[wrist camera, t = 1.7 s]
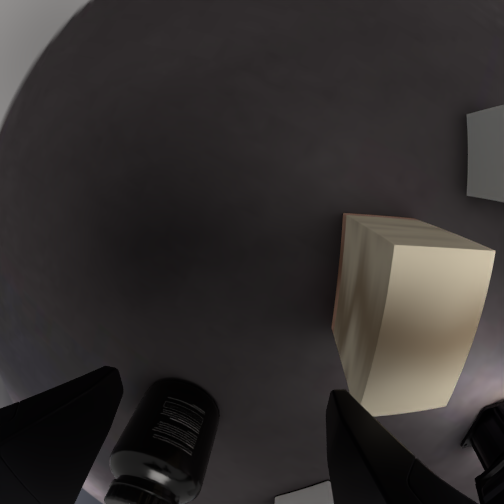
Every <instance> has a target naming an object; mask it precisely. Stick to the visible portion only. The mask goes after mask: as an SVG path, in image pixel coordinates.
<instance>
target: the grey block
mask: <svg viewBox="0 0 504 504" xmlns="http://www.w3.org/2000/svg"><path fill="white" fill-rule="evenodd" d="M467 132H468V180H467V196H472V197H478V198H483V199H489V200H494V201H500V202H504V105H501V106H497V107H493V108H489V109H485V110H481V111H477V112H474V113H470V114H467Z"/></svg>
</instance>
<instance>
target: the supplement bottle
mask: <svg viewBox="0 0 504 504" xmlns="http://www.w3.org/2000/svg"><path fill="white" fill-rule="evenodd" d="M218 422H219V412H218V409H217V406H216V405H215V403H214V402H213V400H212V399H211V398H210V397H209V396H208V395H207V394H206V393H205V392H203V391H202V390H200V389H199V388H197V387H195V386H193V385H190V384H187V383H184V382H180V381H162V382H159V383H156V384H154V385H152V386H151V387H150V388H149V389H148V390H147V392H146V393H145V395H144V397H143V398H142V400H141V402H140V403H139V405H138V407H137V409H136V410H135V412H134V414H133V416H132V417H131V419H130V421H129V422H128V424H127V426H126V428H125V429H124V431H123V433H122V435H121V436H120V438H119V440H118V442H117V443H116V445H115V447H114V449H113V451H112V453H111V455H110V458H109V463H110V468H111V471H112V473H113V475H114V476H115V478H116V479H114V480H113V481H112V482H111V484H110V488H109V490H108V492H107V494H106V496H105V498H104V501H105V502H104V503H105V504H186V503H189V502H191V501H193V500H194V499H195V498H196V497H197V496H198V495H199V493H200V490H201V488H202V484H203V480H204V477H205V473H206V469H207V465H208V461H209V458H210V454H211V450H212V446H213V442H214V439H215V435H216V431H217V427H218Z"/></svg>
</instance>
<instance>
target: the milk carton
mask: <svg viewBox="0 0 504 504" xmlns="http://www.w3.org/2000/svg"><path fill="white" fill-rule="evenodd" d="M274 504H334V502H333V495H332V488H331V482H330V481H326V482H323V483H320V484H317V485H314V486H311V487H308V488H305V489H301V490H298V491H295V492H291V493H288V494H284V495H281V496H277V497H275V503H274Z"/></svg>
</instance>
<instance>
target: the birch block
mask: <svg viewBox="0 0 504 504" xmlns="http://www.w3.org/2000/svg"><path fill="white" fill-rule="evenodd" d="M494 257H495V251H494V250H492V249H490V248H488V247H485V246H483V245H481V244H478V243H476V242H474V241H471V240H469V239H466V238H464V237H461V236H459V235H456V234H454V233H451V232H449V231H446V230H444V229H441V228H439V227H436V226H433V225H431V224H428V223H425V222H423V221H420V220H417V219H414V218H405V217H393V216H380V215H366V214H351V213H343V223H342V237H341V249H340V260H339V270H338V280H337V288H336V297H335V305H334V313H333V320H332V327H331V329H332V332H333V335H334V339H335V342H336V345H337V349H338V352H339V356H340V359H341V363H342V366H343V370H344V374H345V377H346V381H347V384H348V388H349V392H350V394H351V395H352V396H353V397H354V398H355V399H356V400H357V401H358V402H359V403H360V404H361V405H362V406H363V407H364V408H365V409H366V410H367V411H368V412H369V413H370V414H371V415H372V416H373V417H375V416H386V415H394V414H402V413H410V412H417V411H423V410H429V409H435V408H440V407H445V406H446V405H447V403H448V401H449V399H450V397H451V395H452V393H453V390H454V388H455V386H456V384H457V381H458V379H459V376H460V374H461V372H462V369H463V367H464V364H465V361H466V359H467V356H468V353H469V351H470V348H471V345H472V342H473V339H474V336H475V333H476V330H477V327H478V324H479V320H480V317H481V313H482V310H483V306H484V302H485V299H486V295H487V291H488V286H489V282H490V277H491V273H492V268H493V262H494Z"/></svg>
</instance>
